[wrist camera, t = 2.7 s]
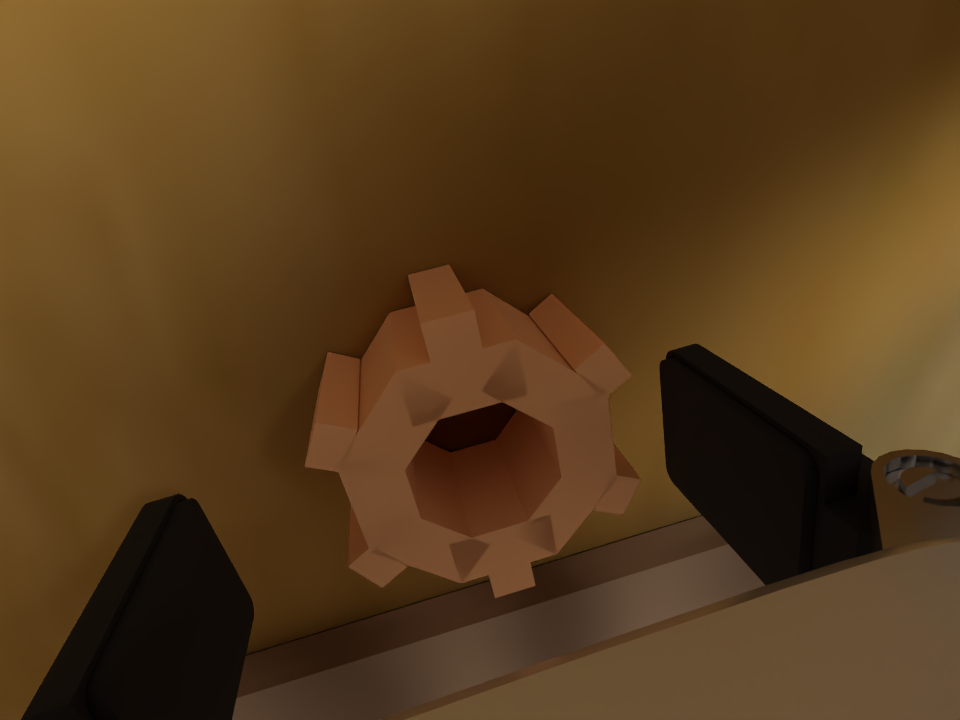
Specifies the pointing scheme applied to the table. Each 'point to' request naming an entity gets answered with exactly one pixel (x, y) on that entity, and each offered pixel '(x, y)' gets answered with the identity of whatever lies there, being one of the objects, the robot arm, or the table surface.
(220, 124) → the table surface
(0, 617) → the table surface
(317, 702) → the gear board
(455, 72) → the table surface
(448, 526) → the terracotta gear
